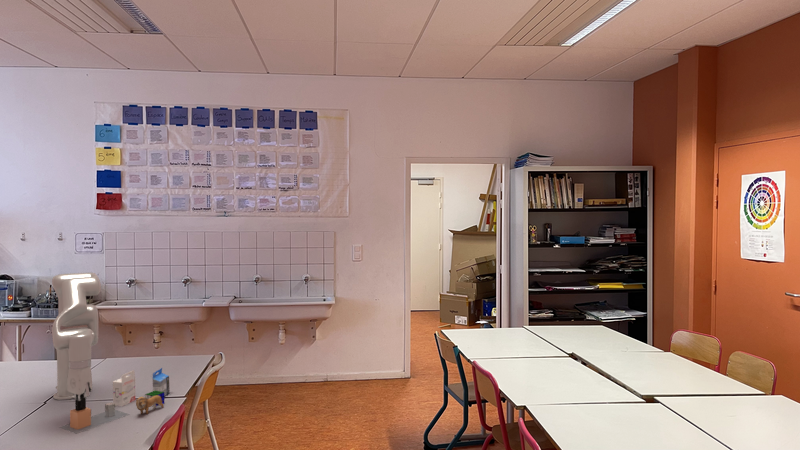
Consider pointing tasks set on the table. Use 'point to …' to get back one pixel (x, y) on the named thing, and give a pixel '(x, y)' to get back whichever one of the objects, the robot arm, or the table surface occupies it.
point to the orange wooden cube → (80, 418)
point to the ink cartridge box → (124, 389)
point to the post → (109, 409)
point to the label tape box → (161, 382)
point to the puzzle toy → (155, 395)
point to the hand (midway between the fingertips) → (80, 409)
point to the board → (96, 421)
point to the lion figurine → (148, 403)
